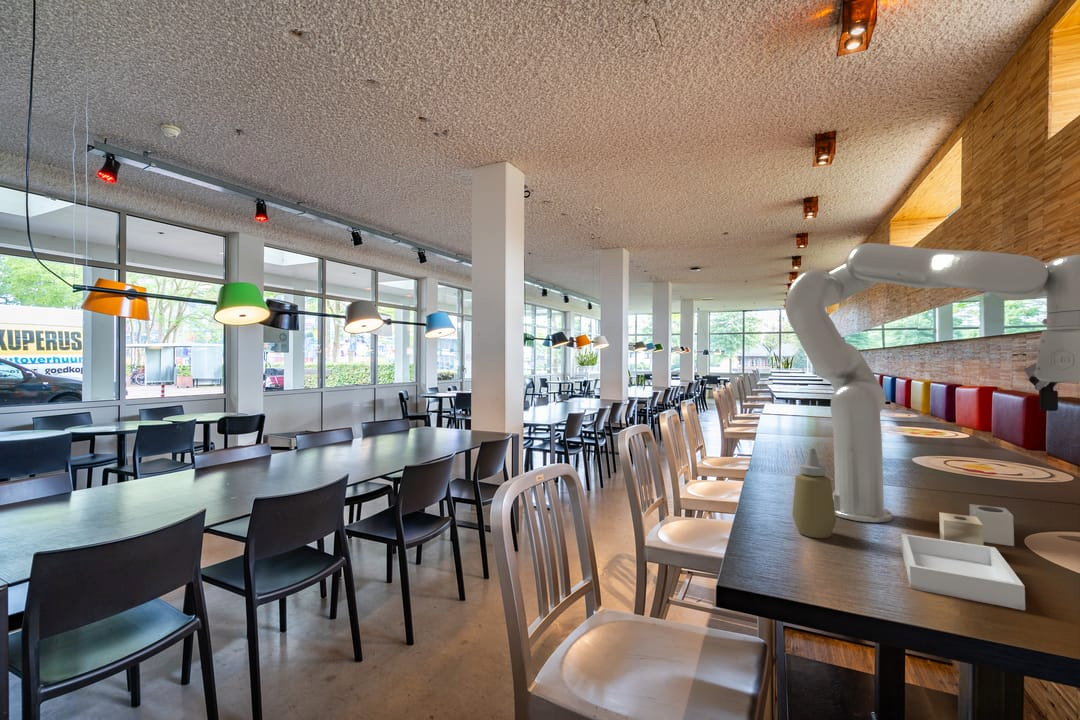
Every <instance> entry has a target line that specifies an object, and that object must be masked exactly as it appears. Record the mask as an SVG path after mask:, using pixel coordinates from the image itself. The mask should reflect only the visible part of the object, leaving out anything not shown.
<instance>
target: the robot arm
mask: <svg viewBox="0 0 1080 720" xmlns="http://www.w3.org/2000/svg"><path fill="white" fill-rule="evenodd" d="M845 259H846V260H845V263H844V264H842V265H840V266H838V267H836V268H835V269H832V270H830V271H825V270H823V269H810V270H806V271H804V272H802V273H800V274H799V275H798V276H797V277H796V278H795V279H794V280H793V281H792V283H791V284H790V285H789V288H788V290H787V292H786V297H785V305H784V307H785V313H786V316H787V320H788V322H789V324H790V325H791V328H792V330H793V331H794V334H795V335H796V337H797V339H798V341H799V343H800V345H801V346H802V347H801V348H802V349H803V350H804V353H805V354H806V356H807V359H808V360H809V362H810V363H811V366H812V367H813V369H814V371H815V372H816V374H818V375H819V376H820V377H822V378H824V379H827V380H828V382H829V383H830V386H831V387H832V389H833V390H834V391H833V393H832V395H831V398H830V414H831V422H832V432H833V433H832V434H833V463H834V489H833V492H832V494H833V501H834V508H835V515H836V517H839V518H843V519H846V520H851V521H857V522H863V523H887V522H890V521H892V520H893V513H892V512H891V511H890V510H888V509H886V508H885V499H884V497H885V496H884V466H883V465H884V462H883V459H884V458H883V437H882V426H881V425H882V424H881V412H882V411H883V409H884V408H885V406H886V402H887V401H886V400H887V398H886V393H885V391H884V389H883V387H882V386H881V384H880V382H879V381H878V379H877V377H876V376H875V374H874V373H873V370H872V369H871V368H870V365H869V364H868V362H867V361H866V360H865V358H864V356H863V354H862V353H861V352H860V350H858V348H857V347H856V346H854V345H853V344H851V343H848V342H846V341H845V340H844V338H843V337H842V335H841V334H840V331H839V330H838V328H837V327H836V325H835V323H834V321H833V320H832V318H831V316H830V315H829V314H828V312H827V310H826V308H829V307H833V306H835V305H838V304H839V303H841V302H844V301H845V300H848V299H849V298H852V297H854V296H855V295H858V294H860V293H862V292H864V291H866V290H868V289H870V288H871V287H874V286H876V285H877V284H879V283H883V284H889V285H898V286H904V287H910V288H917V289H926V290H928V289H929V290H931V289H932V290H933V289H939V288H951V289H952V288H955V289H966V290H974V291H980V292H981V291H982V292H988V293H994V294H995V295H996V296H997V297H999V298H1001V299H1002V300H1003V299H1004V300H1008V301H1023V300H1030V299H1036V298H1042V297H1046V318H1043V320H1042V322H1041V323H1042V324H1043V325H1044V326H1046V330H1042V332H1041V334H1040V337H1039V341H1038V345H1037V351H1036V353H1037V354H1036V363H1033V364H1031V365H1030V366H1027V367H1025V368H1024V373H1025V374H1026V375H1027V377H1028V378H1029V379H1028V380H1029V381H1028V382H1030V383H1031V384H1032V385H1033V386H1034V389H1035V390H1036V391H1038V403H1039V404H1038V410H1039V411H1042V412H1057V411H1058V410H1059V392H1058V390H1054V389H1056V388H1057V386H1059V384H1060V383H1080V254H1073V255H1065V256H1060V257H1057V258H1054V259H1052V260H1050V261H1049V262H1043V261H1042V260H1040V259H1038V258H1035V257H1033V256H1028V255H1022V254H1015V253H1013V254H1012V253H1003V252H1002V253H1001V252H992V251H980V250H954V249H940V248H939V249H935V248H926V247H915V246H905V245H896V244H887V243H886V244H885V243H878V242H877V243H876V242H875V243H873V242H866V243H862V244H859V245H856V246H855V247H854V248H853V249H851V250H850V252H849V253H848V255H847V257H846V258H845Z"/></svg>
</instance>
